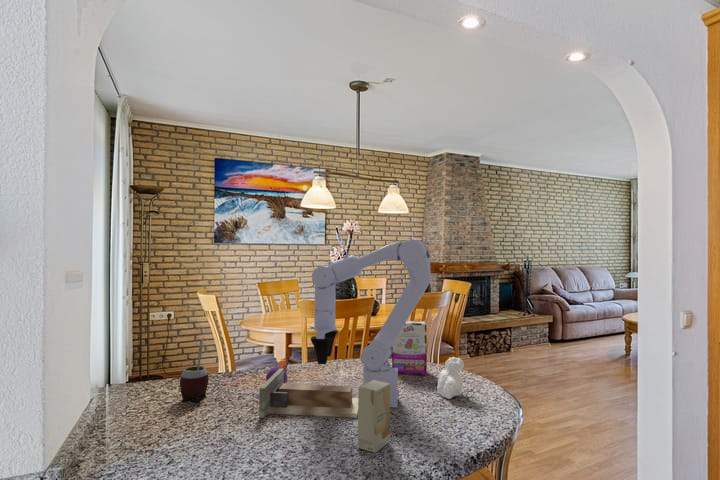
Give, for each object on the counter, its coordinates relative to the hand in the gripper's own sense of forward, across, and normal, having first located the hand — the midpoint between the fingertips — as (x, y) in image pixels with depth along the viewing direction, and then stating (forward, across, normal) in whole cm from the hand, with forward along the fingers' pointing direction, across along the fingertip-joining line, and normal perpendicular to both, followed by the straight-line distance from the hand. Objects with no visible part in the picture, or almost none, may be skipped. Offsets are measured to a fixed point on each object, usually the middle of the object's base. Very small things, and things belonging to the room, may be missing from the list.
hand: (324, 359), depth 113 cm
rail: (+9, +8, -1) cm, 12 cm away
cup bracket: (+10, +9, -1) cm, 13 cm away
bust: (+10, -5, +34) cm, 36 cm away
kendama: (+10, -12, -16) cm, 23 cm away
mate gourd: (+10, +6, -34) cm, 36 cm away
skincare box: (+10, +27, +15) cm, 32 cm away
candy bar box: (+10, -24, +24) cm, 35 cm away
